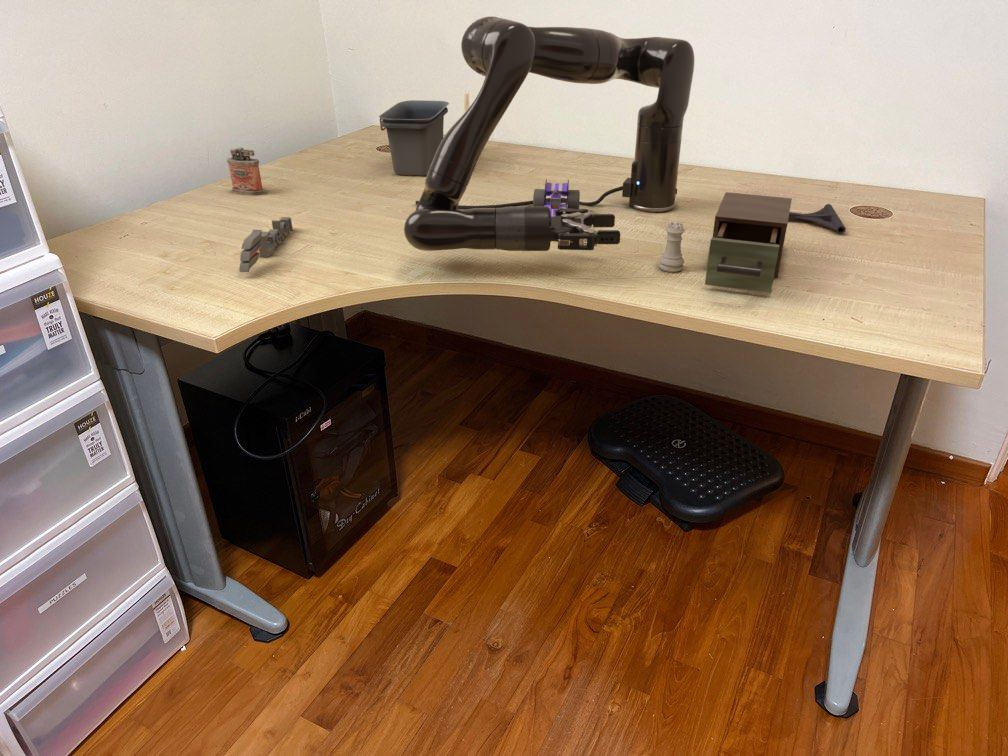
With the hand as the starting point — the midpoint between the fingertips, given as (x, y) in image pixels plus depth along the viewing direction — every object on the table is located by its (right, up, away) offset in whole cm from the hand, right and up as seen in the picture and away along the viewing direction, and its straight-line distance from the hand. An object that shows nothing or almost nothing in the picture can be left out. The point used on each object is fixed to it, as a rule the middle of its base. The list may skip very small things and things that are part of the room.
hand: (617, 228), depth 130 cm
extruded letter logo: (-63, -2, +12) cm, 65 cm away
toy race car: (-9, +7, +27) cm, 29 cm away
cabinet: (+24, -4, +7) cm, 26 cm away
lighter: (-78, +17, +46) cm, 93 cm away
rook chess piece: (+10, -6, +4) cm, 12 cm away
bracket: (+41, +6, +25) cm, 48 cm away
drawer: (+20, -9, -3) cm, 22 cm away
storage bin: (-42, +28, +63) cm, 81 cm away
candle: (-29, +36, +78) cm, 91 cm away
